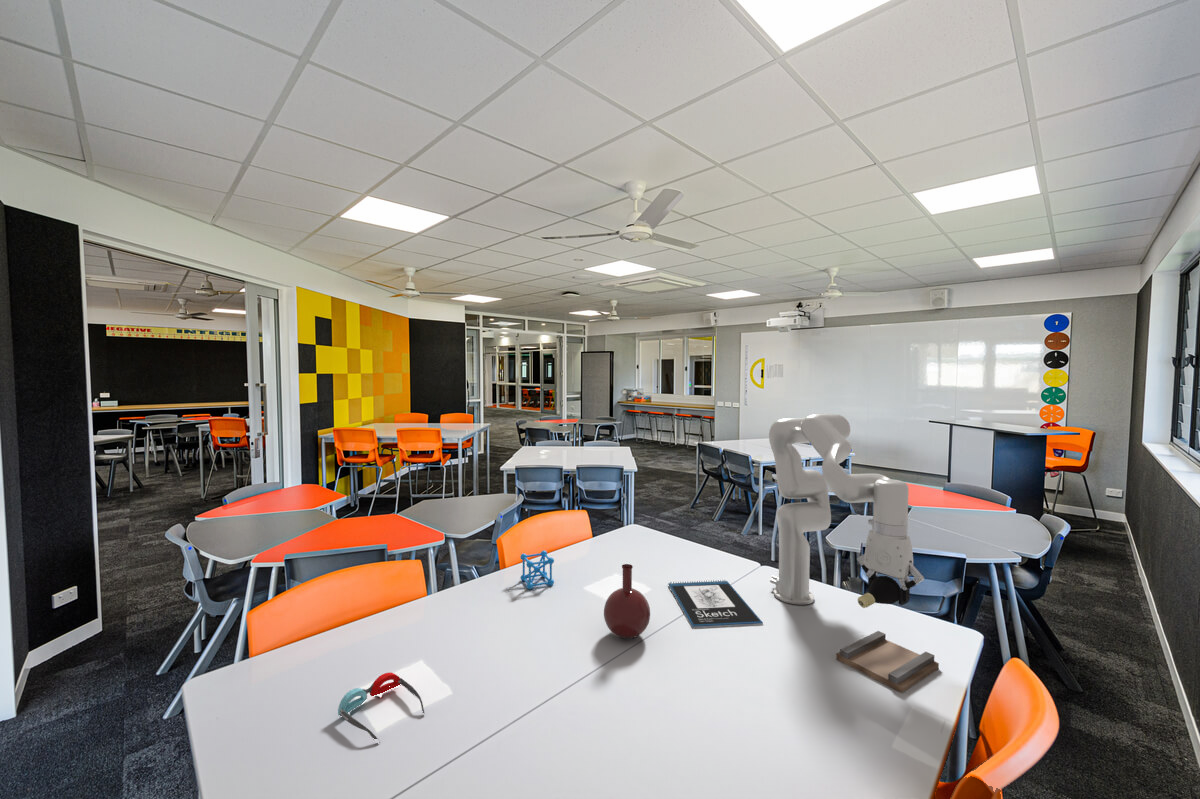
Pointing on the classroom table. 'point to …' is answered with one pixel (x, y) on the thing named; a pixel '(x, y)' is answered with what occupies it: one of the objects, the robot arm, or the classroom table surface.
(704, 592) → the sketchbook
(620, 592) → the round-bottom flask
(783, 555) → the robot arm
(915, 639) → the classroom table surface
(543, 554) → the molecular structure
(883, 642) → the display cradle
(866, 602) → the light bulb
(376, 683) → the novelty glasses
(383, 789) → the classroom table surface
